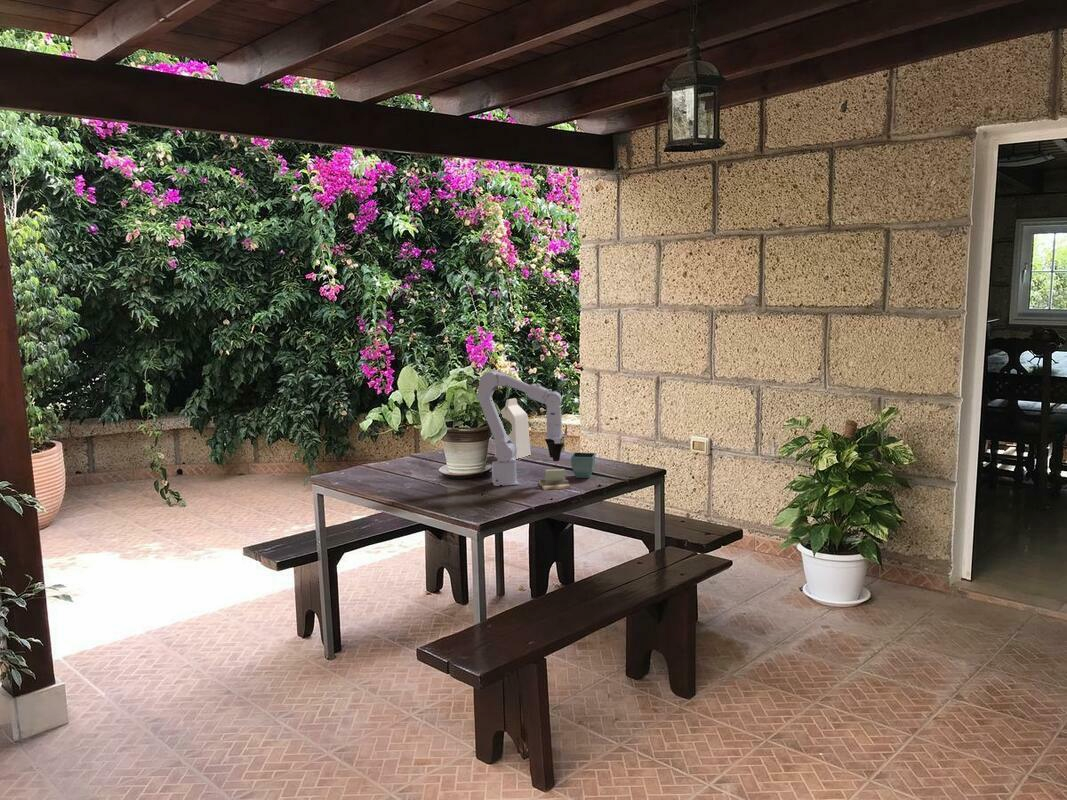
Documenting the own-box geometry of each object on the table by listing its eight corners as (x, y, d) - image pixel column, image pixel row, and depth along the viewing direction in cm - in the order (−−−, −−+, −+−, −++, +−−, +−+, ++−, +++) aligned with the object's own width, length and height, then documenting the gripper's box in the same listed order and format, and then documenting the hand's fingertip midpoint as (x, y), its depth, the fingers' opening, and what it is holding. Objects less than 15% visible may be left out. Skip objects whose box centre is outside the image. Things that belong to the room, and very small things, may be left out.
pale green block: (546, 484, 327) (546, 471, 327) (545, 482, 330) (545, 469, 329) (564, 483, 328) (564, 470, 328) (563, 481, 331) (563, 468, 330)
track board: (543, 489, 322) (543, 484, 322) (538, 482, 334) (538, 477, 334) (570, 488, 324) (570, 482, 324) (564, 481, 336) (564, 475, 335)
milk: (516, 460, 379) (515, 401, 375) (494, 458, 385) (493, 400, 381) (530, 455, 389) (529, 398, 385) (509, 453, 395) (508, 396, 391)
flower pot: (593, 479, 338) (592, 457, 337) (570, 479, 340) (570, 456, 338) (596, 474, 346) (595, 452, 345) (574, 474, 348) (574, 452, 347)
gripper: (567, 426, 321) (568, 462, 323) (561, 420, 336) (561, 454, 337) (549, 427, 320) (549, 463, 322) (543, 421, 335) (543, 455, 336)
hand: (554, 459), depth 330 cm, fingers open, 7 cm apart
